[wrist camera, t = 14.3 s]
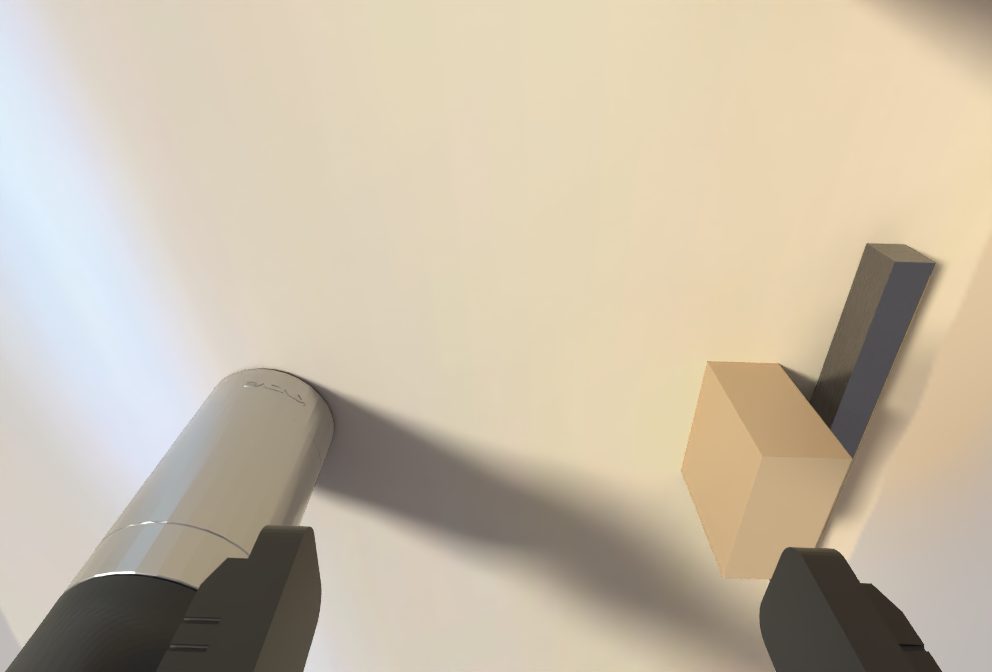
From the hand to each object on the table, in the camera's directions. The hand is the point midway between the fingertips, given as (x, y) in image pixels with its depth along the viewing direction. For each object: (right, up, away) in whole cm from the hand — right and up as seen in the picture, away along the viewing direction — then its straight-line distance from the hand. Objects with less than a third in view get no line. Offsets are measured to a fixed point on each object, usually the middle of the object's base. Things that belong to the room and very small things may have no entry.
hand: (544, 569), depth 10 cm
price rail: (+23, -2, +34) cm, 41 cm away
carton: (+16, -2, +34) cm, 37 cm away
